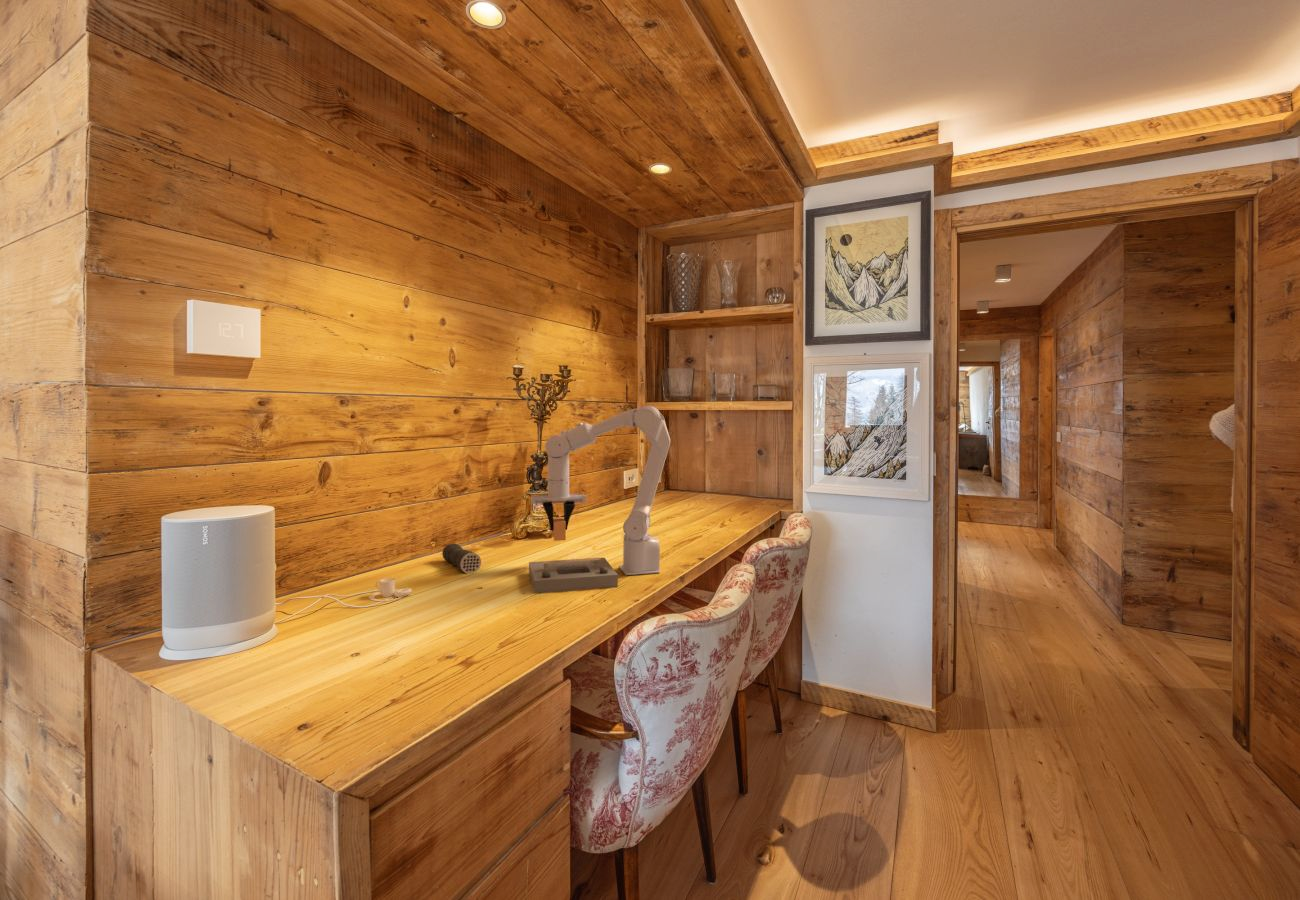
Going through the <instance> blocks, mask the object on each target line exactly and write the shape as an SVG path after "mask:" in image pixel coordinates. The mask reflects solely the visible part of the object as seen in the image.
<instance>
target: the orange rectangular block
mask: <svg viewBox="0 0 1300 900" xmlns="http://www.w3.org/2000/svg"><path fill="white" fill-rule="evenodd" d="M553 525H554V529H553V530H554V531H551V538H553V541H554V542H556V541H558V542H560V541H566V540H567V537H566V536H567V533H566V532H567V530H566V522H565V520H564V516H563V517H561V516H560V517H553Z"/></svg>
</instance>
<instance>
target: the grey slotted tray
mask: <svg viewBox="0 0 1300 900" xmlns="http://www.w3.org/2000/svg"><path fill="white" fill-rule="evenodd" d="M528 574H529V578H530V581H531V582H530V583H531V586H532V589H533V593H534V594H541V593H543V594H544V593H554V592H555V593H556V592H564V591H565V592H567V591H568V592H569V591H578V590H579V591H581V590H595V589H604V588H605V589H606V588H618V586H619V583H618V582H619V577H618V575H619V574H618V573H617V572H616V570H615V569H614V568H613V567H612V565H611V564H610V563H609V561H608V560H607V559H606V557H591V558H573V559H560V560H559V559H558V560H543V561H529V562H528Z"/></svg>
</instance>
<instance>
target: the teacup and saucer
mask: <svg viewBox="0 0 1300 900" xmlns="http://www.w3.org/2000/svg"><path fill="white" fill-rule="evenodd" d="M378 583H379V585H380V588H379V586H378ZM375 587H376V589H377V590H378V591H376V592H374V593H372V594H370V595H369V596H368V599H369V600H371V601H373V602H390V601H396V600H400V599H403V598H404V597H406V596H409V595H410V594H411V593H412V588H410V587H404V588H401V589H399V588H398V589H397V588H396V579H395V578H392V577H387V578H382V579H380V580H378V581H377V582H375ZM395 588H396V589H395ZM395 591H396V592H395ZM379 593H380V594H381V595H382V597H383V598H390V597H393V596H395V597H394V598H395V599H394V598H390V600H389V599H378V598H375V597H376V596H378V595H379ZM397 597H398V598H397Z"/></svg>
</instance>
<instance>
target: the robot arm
mask: <svg viewBox="0 0 1300 900" xmlns="http://www.w3.org/2000/svg"><path fill="white" fill-rule="evenodd" d="M665 420H666V419H665V417H664V416H663V414H662V413H661V412H660V411H659V409H658V408H657V407H655V406H653V405H645V406H640V407H638V408H633V409H629V410H625V411H622V412H620V413H618V414H615V415H613V416H611V417H609V418H607V419H605V420H603V421H600V422H598V423H595V424H593V425H592V424H590V423H587V422H584V423H583V422H579V423H576V426H575V427H573V428H570V429H569V430H561V431H560V433H561V434H553V435H551V437H549V438H547V440H546V441H545V445H544V447H545V452H546V453H547V494H544V495H532V496H530V504H531V505H536V504H538V505H539V504H540V505H542V507H543V509H544V511H545V513H546V516H547V519H548V523H549V529H550V531H551V532H552V531H554V530H553V529H554V525H553V518H554V504H563V519H564V520H565V522H566V531H567V530H568V525H569V522H570V519H571V516H572V513H573V512H574V509H575V507H576V503H585V504H586V503H587V495H586V494H570V453H571V452H575V451H577V450H580V449H584V448H585V447H587V446H589V445H592V444H595V442H596V441H597V437H599V436H601V435H604V434H606V433H609V432H612V431H614V430H617V429H620V428H622V427H629V428H634V427H637V429H639V430H640V431H641V432H642V433H644V435H645V436H646V437H647V439H648V441H649V442H650V444H651V447H650V450H649V453H648V457H647V460H646V462H645V463H646V464H645V467H644V471H643V474H642V477H641V480H640V482H639V483H640V484H639V486H638V490H637V494H636V497H635V500H634V504H633V505H632V508H631V511H630V514H629V515H628V517H627V518H626V519H625V521H624V522H623V526H622V530H623V533H624V534H623V549H622V550H623V552H622V553H623V555H622V556H623V559H622V562H623V563H622V564H620V565H618V567H619V569H620V570H621V571H622V572H623V574H624V575H625V576H629V575H631V576H632V575H644V574H646V575H647V574H659V573H661V570H660V558H661V554H660V553H661V551H660V550H661V549H660V542H659V538H658V537H657V536H651V534H650V532H649V531H648V529H649V528H650V526H651V517H650V516H651V515H650V514H651V512H652V511H651V510H652V506H653V503H654V499H655V495H656V492H657V489H658V485H659V482H660V479H661V476H662V473H663V469H664V466H665V463H666V462H665V461H666V459H667V456H668V454H669V453H668V452H669V449H670V445H671V437H670V433H669V430H668V428H667V424H666V421H665Z"/></svg>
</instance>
